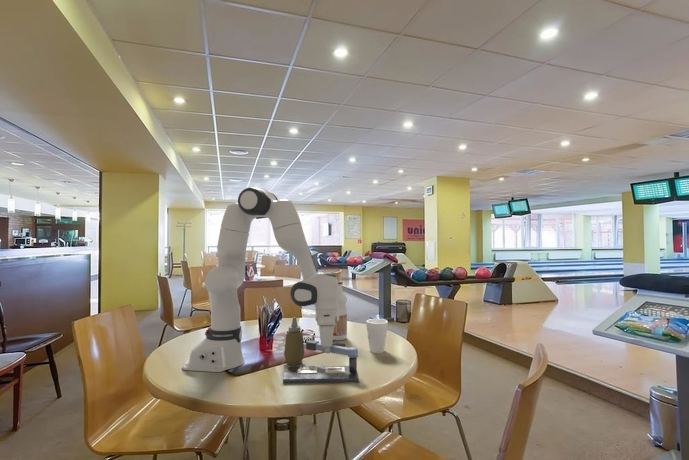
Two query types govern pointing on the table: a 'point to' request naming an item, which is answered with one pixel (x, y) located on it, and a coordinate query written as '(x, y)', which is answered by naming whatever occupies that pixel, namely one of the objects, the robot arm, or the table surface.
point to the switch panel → (322, 374)
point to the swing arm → (333, 349)
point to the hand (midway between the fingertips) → (327, 352)
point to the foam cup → (377, 334)
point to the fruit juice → (341, 316)
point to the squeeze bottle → (294, 344)
